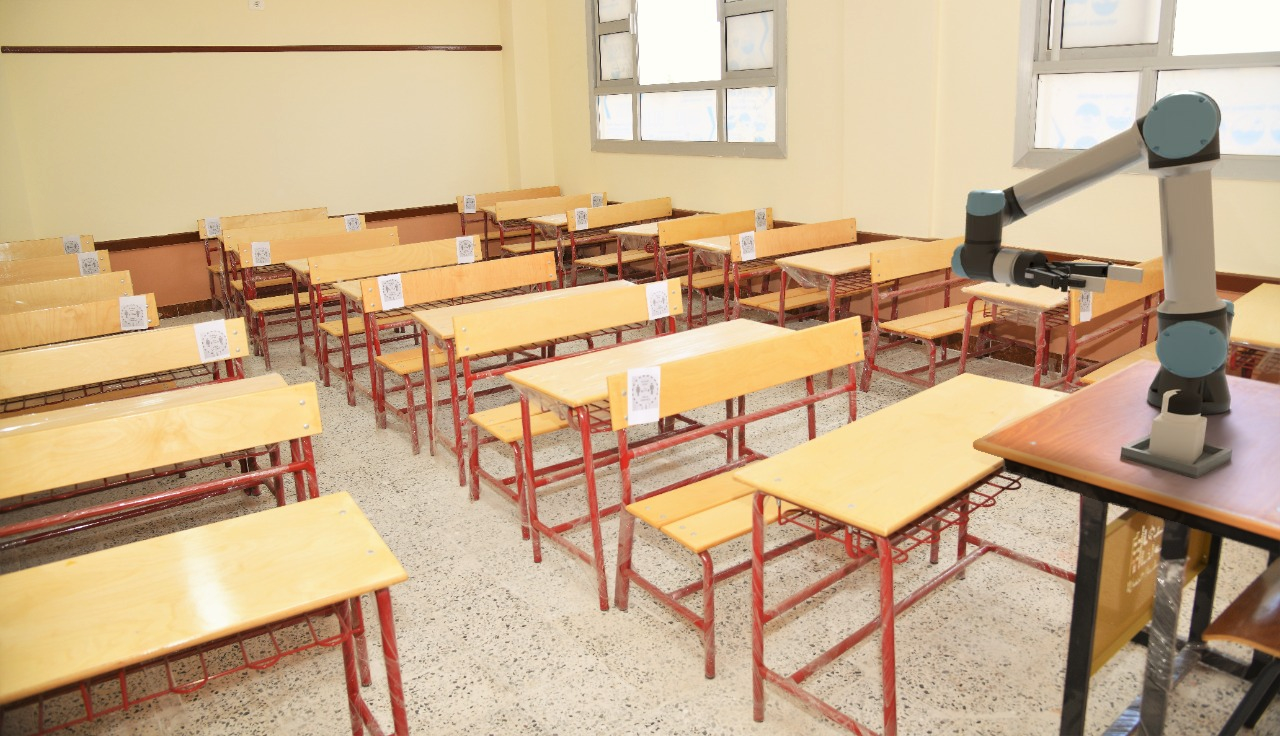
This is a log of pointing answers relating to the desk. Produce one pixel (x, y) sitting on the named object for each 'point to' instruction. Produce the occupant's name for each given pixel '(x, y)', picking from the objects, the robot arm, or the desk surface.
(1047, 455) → the desk surface
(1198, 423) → the medicine bottle
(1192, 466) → the bottle tray
